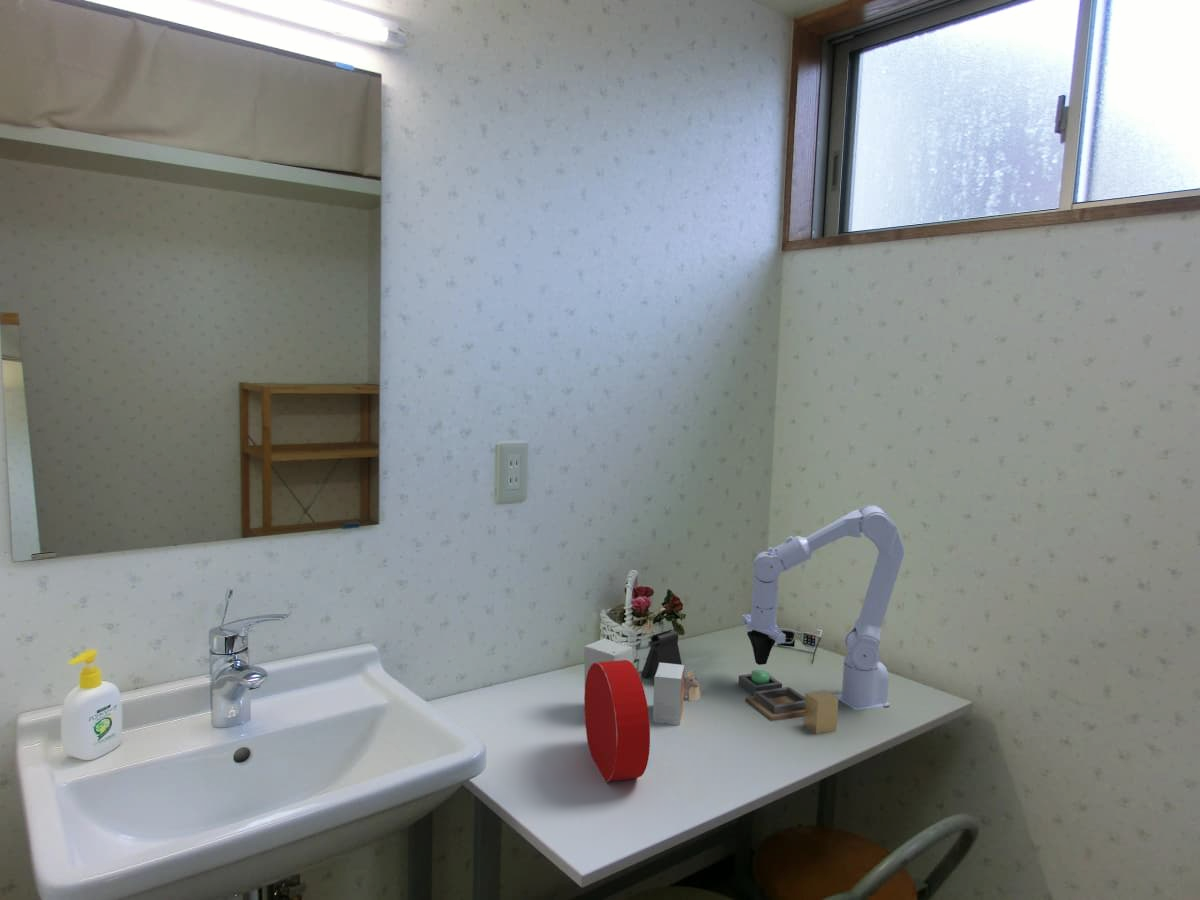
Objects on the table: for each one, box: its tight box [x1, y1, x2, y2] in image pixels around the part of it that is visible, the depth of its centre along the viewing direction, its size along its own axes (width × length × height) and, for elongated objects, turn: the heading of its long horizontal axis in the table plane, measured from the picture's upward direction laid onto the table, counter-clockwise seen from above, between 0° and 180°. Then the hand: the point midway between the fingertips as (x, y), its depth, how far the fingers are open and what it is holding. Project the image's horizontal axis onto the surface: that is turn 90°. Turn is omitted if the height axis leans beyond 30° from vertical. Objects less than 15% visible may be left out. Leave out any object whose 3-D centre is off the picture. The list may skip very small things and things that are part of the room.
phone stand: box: [640, 629, 686, 680], centre depth 178 cm, size 9×6×12 cm, turn 41°
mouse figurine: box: [683, 669, 702, 702], centre depth 170 cm, size 5×8×7 cm, turn 38°
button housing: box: [737, 673, 783, 696], centre depth 176 cm, size 7×7×2 cm
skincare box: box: [583, 638, 633, 684], centre depth 158 cm, size 8×7×16 cm
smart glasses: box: [776, 627, 823, 665], centre depth 200 cm, size 12×14×5 cm
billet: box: [803, 689, 839, 735], centre depth 157 cm, size 5×4×7 cm
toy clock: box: [583, 660, 651, 783], centre depth 137 cm, size 20×6×20 cm, turn 17°
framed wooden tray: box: [744, 686, 806, 722], centre depth 167 cm, size 12×10×2 cm
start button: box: [751, 669, 770, 685], centre depth 176 cm, size 4×4×2 cm
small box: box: [652, 663, 686, 726], centre depth 159 cm, size 8×6×10 cm
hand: (760, 663), depth 176 cm, fingers closed
